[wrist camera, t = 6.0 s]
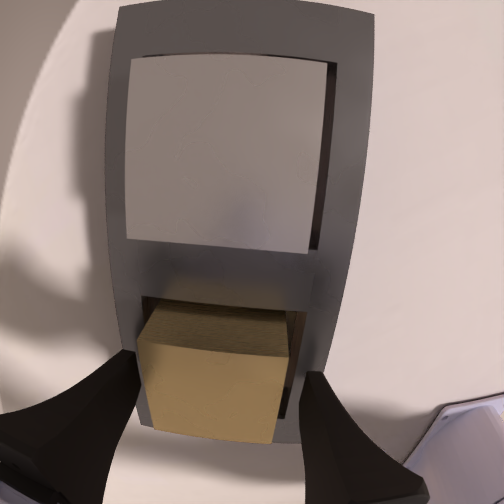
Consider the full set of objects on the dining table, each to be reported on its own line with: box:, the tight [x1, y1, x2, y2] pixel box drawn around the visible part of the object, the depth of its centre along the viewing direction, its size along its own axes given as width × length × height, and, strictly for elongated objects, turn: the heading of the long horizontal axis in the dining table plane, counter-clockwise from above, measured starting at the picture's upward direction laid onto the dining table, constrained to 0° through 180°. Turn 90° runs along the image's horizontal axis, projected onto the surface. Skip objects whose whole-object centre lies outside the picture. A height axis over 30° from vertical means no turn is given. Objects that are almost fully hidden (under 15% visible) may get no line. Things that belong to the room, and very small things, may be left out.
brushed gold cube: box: [137, 298, 289, 444], centre depth 13 cm, size 5×5×5 cm
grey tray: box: [105, 0, 374, 443], centre depth 12 cm, size 20×9×2 cm, turn 176°
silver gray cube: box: [125, 54, 327, 254], centre depth 10 cm, size 5×5×5 cm
